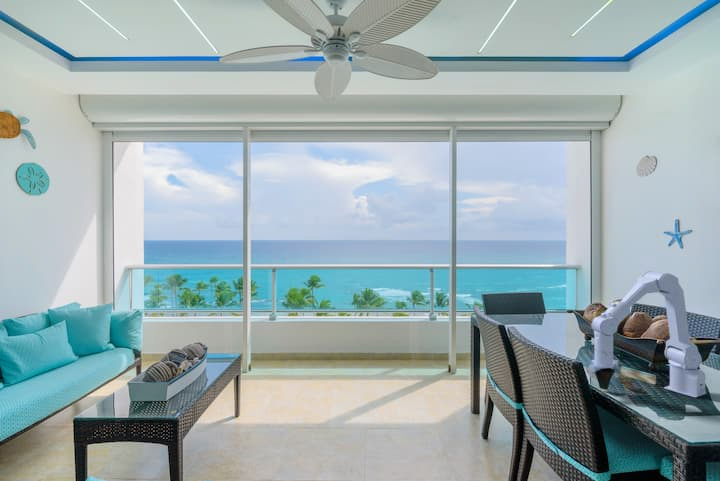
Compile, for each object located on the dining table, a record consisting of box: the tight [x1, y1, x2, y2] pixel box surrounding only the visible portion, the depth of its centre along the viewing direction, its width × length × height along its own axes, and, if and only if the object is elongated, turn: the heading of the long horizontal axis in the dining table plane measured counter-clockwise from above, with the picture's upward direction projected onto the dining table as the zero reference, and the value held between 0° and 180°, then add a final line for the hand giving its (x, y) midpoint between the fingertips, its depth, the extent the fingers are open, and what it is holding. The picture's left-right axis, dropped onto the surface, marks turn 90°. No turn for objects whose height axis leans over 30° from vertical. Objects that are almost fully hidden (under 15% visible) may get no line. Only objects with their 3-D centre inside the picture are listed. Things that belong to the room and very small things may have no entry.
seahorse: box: [616, 375, 647, 394], centre depth 147 cm, size 6×15×2 cm, turn 169°
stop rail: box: [620, 365, 657, 385], centre depth 153 cm, size 12×1×3 cm, turn 28°
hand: (603, 388), depth 141 cm, fingers closed
